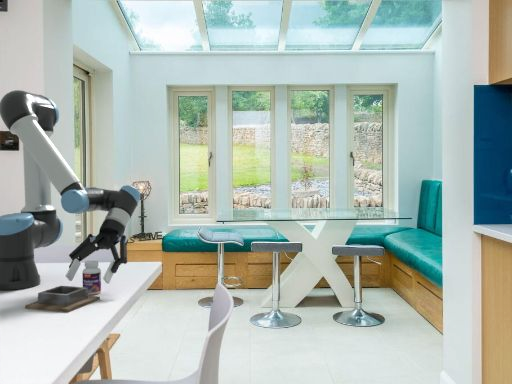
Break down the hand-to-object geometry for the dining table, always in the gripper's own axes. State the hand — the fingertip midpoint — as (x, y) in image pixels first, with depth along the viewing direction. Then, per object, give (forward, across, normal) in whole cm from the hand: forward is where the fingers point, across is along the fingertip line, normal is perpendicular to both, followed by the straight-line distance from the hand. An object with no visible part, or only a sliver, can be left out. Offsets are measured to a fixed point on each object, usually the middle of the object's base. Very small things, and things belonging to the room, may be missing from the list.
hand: (86, 279), depth 151 cm
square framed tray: (+11, 0, +4) cm, 12 cm away
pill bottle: (+2, 0, -5) cm, 5 cm away
